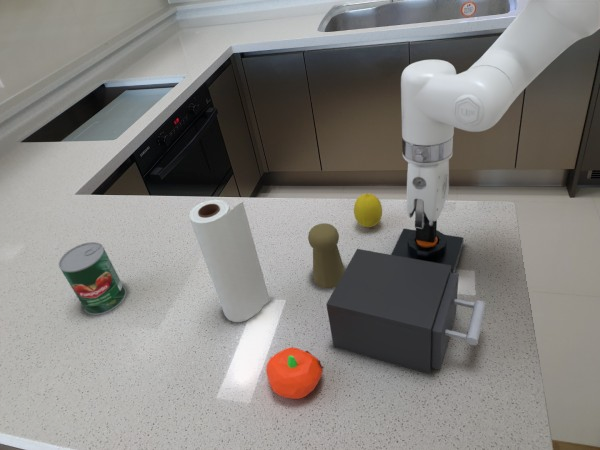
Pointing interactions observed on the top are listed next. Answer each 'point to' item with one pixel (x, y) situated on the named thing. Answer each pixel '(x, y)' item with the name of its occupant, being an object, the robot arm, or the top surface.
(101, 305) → the canned tomato
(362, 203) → the lemon
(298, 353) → the pumpkin
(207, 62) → the top surface
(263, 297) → the paper towel roll
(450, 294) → the basket drawer
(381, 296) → the dark grey drawer cabinet
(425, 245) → the button
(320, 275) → the pepper mill
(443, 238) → the control block
